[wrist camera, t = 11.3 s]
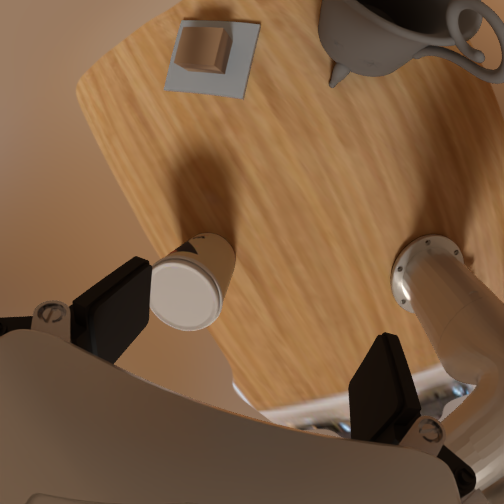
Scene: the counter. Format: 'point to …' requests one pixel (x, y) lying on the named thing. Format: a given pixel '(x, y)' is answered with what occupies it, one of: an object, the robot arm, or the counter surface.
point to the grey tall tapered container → (404, 35)
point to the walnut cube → (204, 49)
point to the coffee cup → (192, 282)
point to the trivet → (237, 64)
